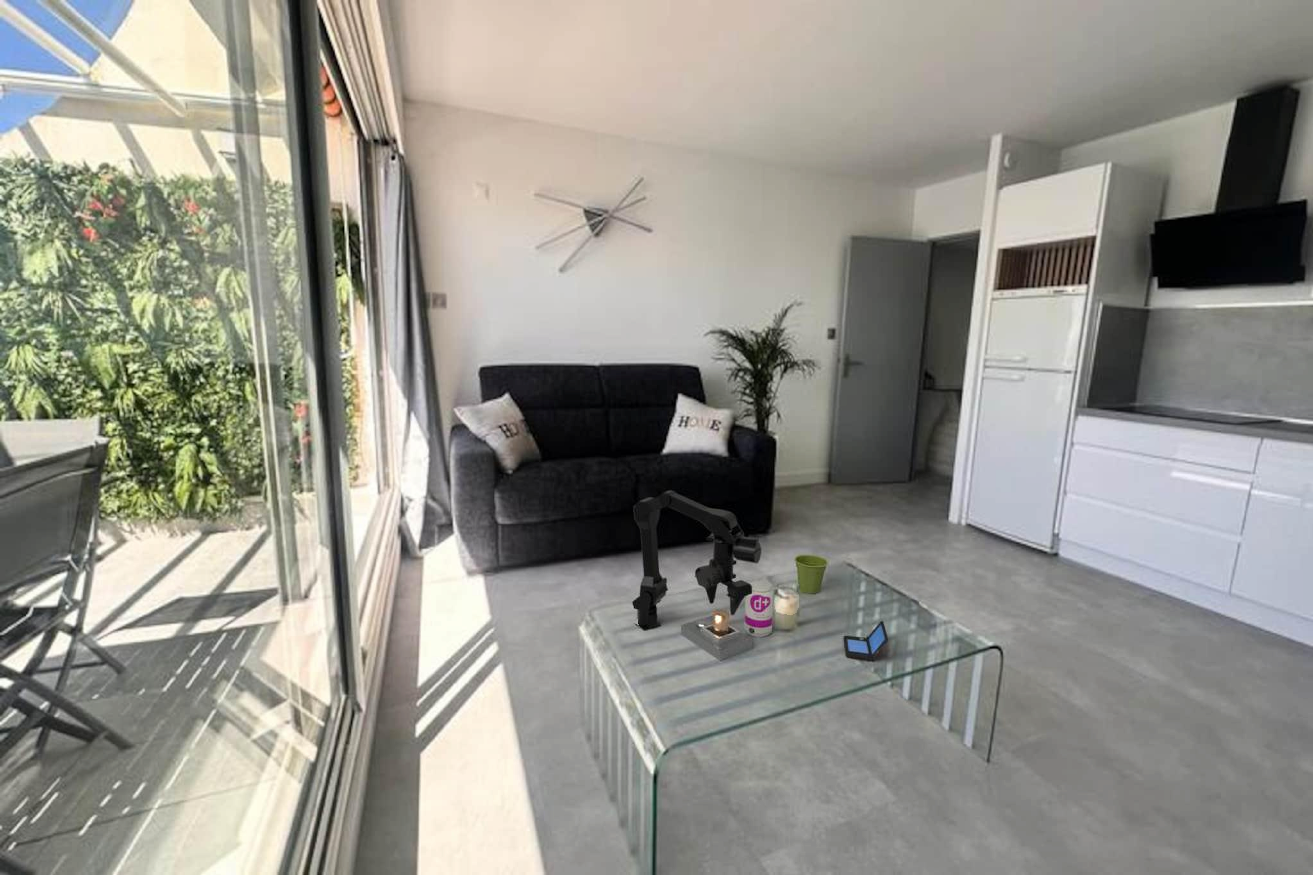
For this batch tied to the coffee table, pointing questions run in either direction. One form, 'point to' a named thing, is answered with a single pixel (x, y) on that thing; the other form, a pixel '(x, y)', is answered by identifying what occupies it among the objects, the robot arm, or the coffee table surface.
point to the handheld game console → (866, 644)
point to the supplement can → (759, 609)
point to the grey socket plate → (716, 639)
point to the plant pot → (810, 572)
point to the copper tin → (720, 622)
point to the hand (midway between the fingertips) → (721, 608)
